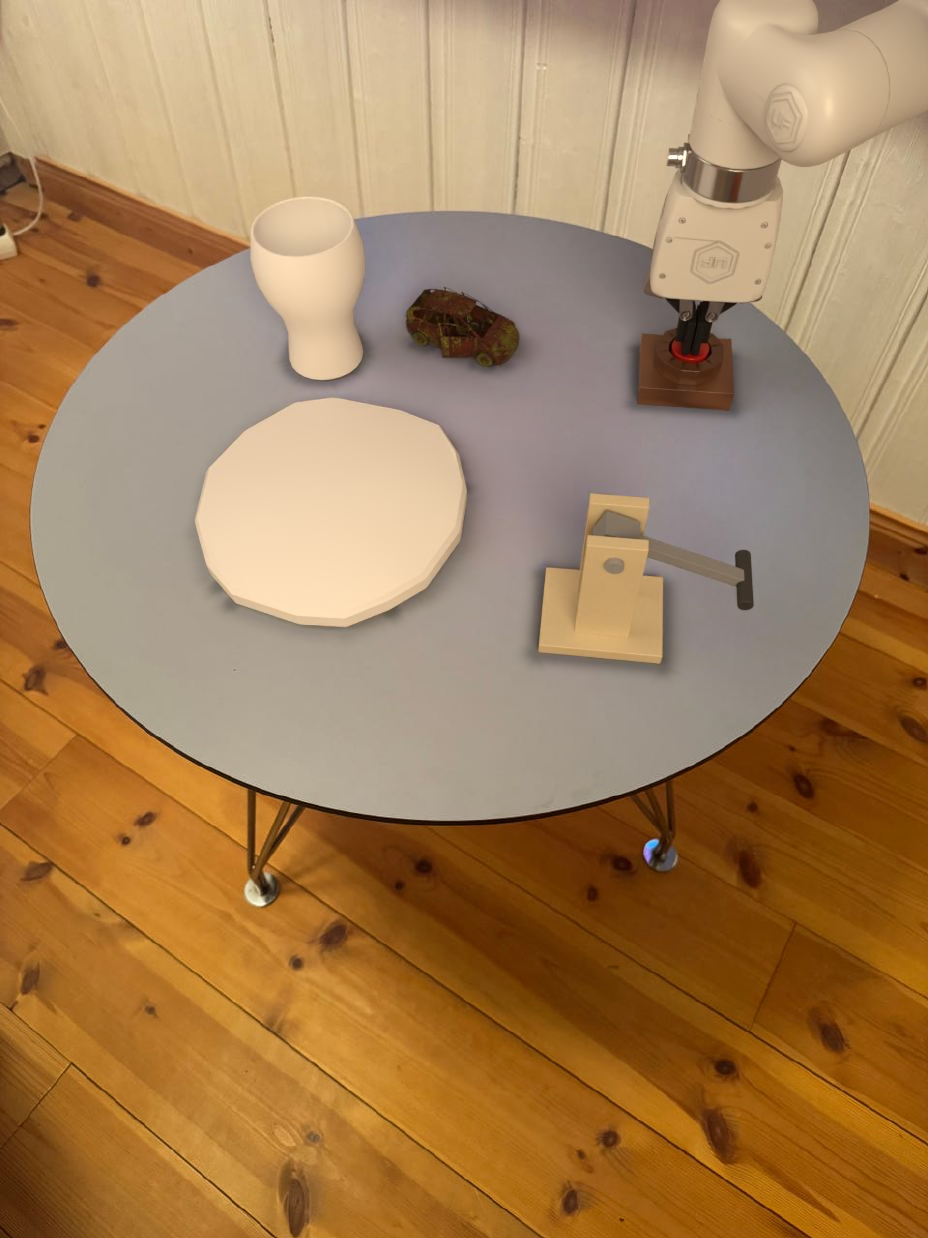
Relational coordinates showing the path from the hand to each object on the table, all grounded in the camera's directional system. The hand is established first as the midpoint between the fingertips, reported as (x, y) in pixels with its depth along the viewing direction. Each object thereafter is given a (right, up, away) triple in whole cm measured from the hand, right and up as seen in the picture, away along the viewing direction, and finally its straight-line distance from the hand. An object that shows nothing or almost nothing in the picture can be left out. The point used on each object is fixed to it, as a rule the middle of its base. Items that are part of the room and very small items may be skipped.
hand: (689, 345), depth 90 cm
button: (0, -1, +1) cm, 2 cm away
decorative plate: (-34, -17, -5) cm, 38 cm away
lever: (-6, -23, -19) cm, 30 cm away
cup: (-37, +1, +7) cm, 37 cm away
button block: (0, -2, +3) cm, 4 cm away
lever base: (-10, -27, -12) cm, 31 cm away
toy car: (-22, +2, +7) cm, 24 cm away
